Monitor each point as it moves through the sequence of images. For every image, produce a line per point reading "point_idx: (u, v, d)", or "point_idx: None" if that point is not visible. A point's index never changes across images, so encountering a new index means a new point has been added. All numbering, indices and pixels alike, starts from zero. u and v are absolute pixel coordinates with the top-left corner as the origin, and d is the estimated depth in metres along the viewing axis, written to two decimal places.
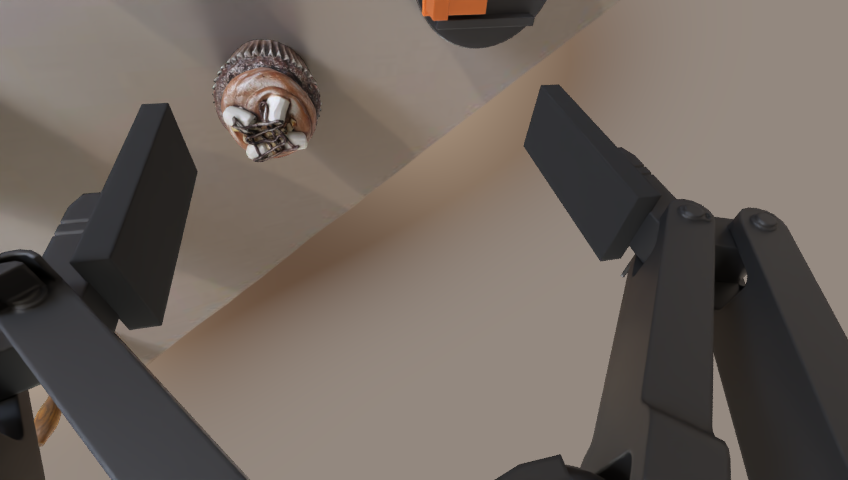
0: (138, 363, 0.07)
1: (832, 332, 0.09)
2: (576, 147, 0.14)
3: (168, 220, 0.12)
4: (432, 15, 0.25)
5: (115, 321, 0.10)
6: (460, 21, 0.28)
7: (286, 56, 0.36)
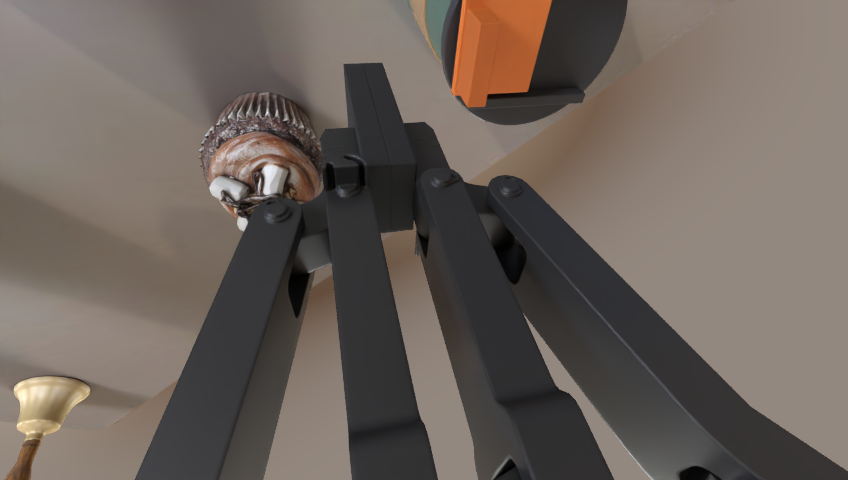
0: (387, 271, 0.09)
1: (605, 272, 0.09)
2: None
3: None
4: (466, 101, 0.20)
5: None
6: (497, 100, 0.23)
7: (286, 116, 0.31)
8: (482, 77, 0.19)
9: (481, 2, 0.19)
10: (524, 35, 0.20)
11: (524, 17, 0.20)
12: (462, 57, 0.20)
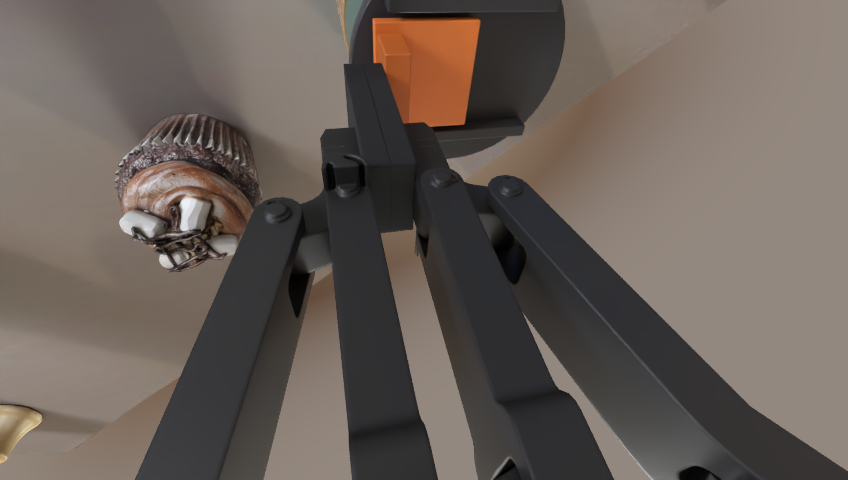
0: (387, 271, 0.09)
1: (605, 272, 0.09)
2: None
3: None
4: None
5: None
6: None
7: (210, 142, 0.28)
8: None
9: (394, 27, 0.16)
10: (452, 63, 0.18)
11: (448, 43, 0.17)
12: None
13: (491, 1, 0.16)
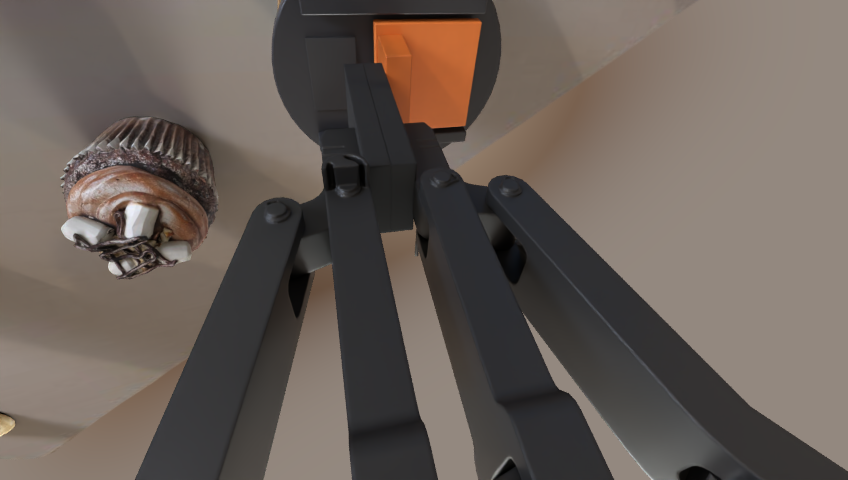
0: (387, 271, 0.09)
1: (605, 272, 0.09)
2: None
3: None
4: None
5: None
6: None
7: (159, 146, 0.28)
8: None
9: (394, 28, 0.16)
10: (452, 65, 0.18)
11: (449, 45, 0.17)
12: None
13: (412, 3, 0.15)
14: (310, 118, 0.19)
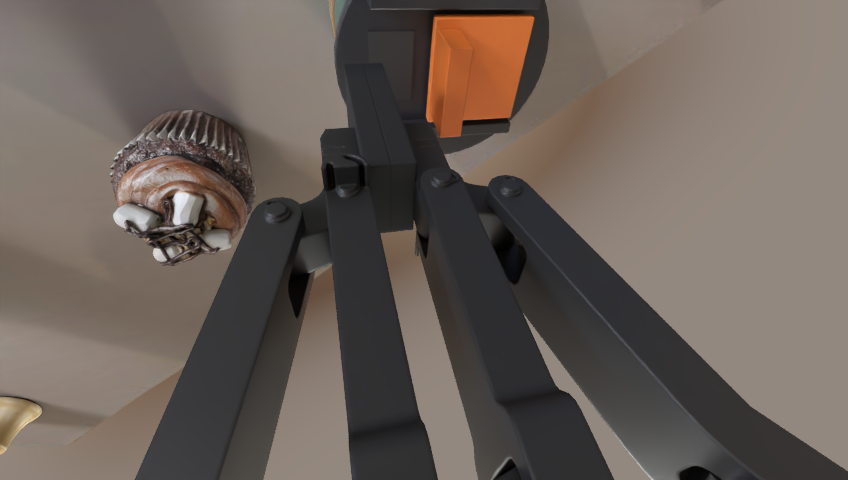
0: (387, 271, 0.09)
1: (605, 272, 0.09)
2: None
3: None
4: (439, 130, 0.18)
5: None
6: None
7: (204, 138, 0.29)
8: (454, 105, 0.17)
9: (454, 23, 0.17)
10: (504, 58, 0.18)
11: (503, 39, 0.18)
12: (434, 82, 0.18)
13: None
14: None
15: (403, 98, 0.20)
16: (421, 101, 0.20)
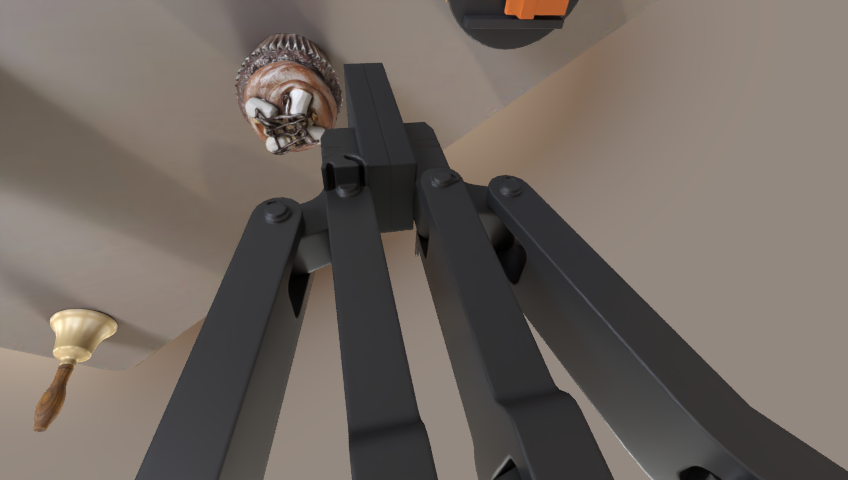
0: (387, 271, 0.09)
1: (605, 272, 0.09)
2: None
3: None
4: (519, 13, 0.26)
5: None
6: (490, 21, 0.28)
7: (310, 50, 0.36)
8: None
9: None
10: None
11: None
12: None
13: None
14: (461, 3, 0.27)
15: None
16: None
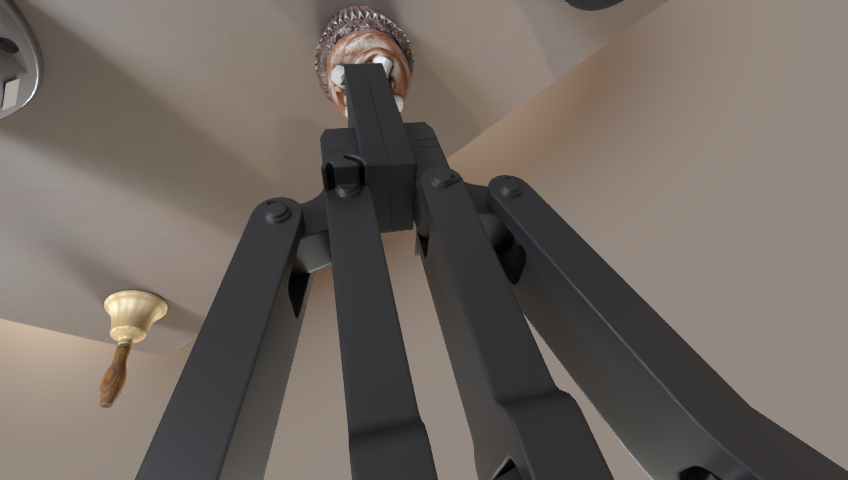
0: (387, 271, 0.09)
1: (605, 272, 0.09)
2: None
3: None
4: None
5: None
6: None
7: (388, 20, 0.37)
8: None
9: None
10: None
11: None
12: None
13: None
14: None
15: None
16: None
